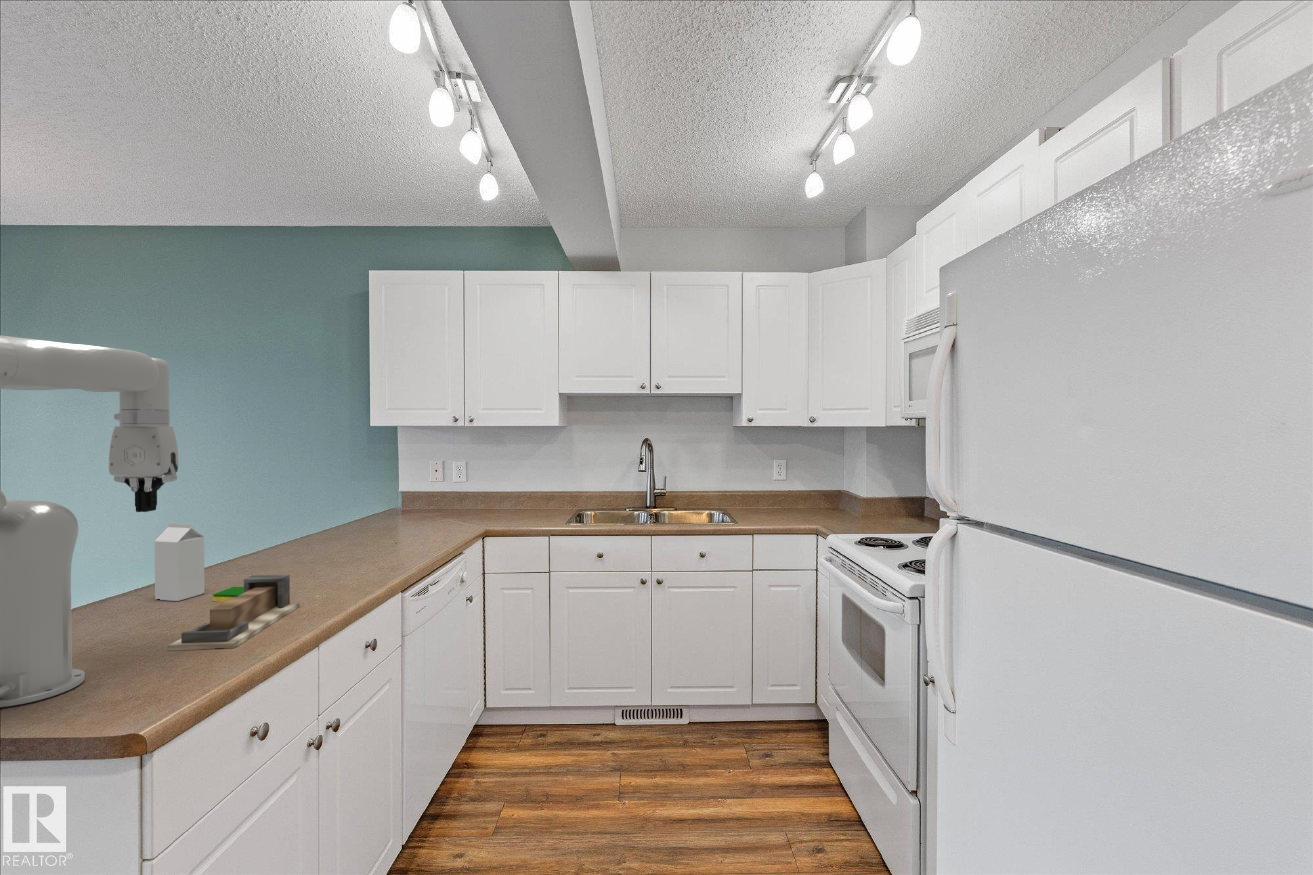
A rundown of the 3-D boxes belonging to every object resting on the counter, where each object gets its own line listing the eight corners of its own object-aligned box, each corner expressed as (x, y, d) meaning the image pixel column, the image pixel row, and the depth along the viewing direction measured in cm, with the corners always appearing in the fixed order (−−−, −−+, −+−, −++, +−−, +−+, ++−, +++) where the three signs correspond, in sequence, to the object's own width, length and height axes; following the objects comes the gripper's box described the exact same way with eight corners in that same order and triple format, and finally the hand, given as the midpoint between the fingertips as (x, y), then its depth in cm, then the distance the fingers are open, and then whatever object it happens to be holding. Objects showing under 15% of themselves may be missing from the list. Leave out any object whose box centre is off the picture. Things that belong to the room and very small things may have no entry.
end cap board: (233, 648, 116) (233, 607, 116) (167, 650, 115) (167, 609, 114) (299, 606, 143) (299, 573, 143) (246, 607, 141) (246, 574, 141)
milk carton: (177, 601, 146) (177, 526, 145) (154, 600, 147) (153, 525, 147) (204, 593, 153) (204, 521, 152) (182, 592, 154) (182, 520, 154)
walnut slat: (230, 632, 122) (230, 609, 122) (209, 633, 121) (209, 609, 121) (276, 606, 140) (275, 585, 139) (258, 606, 139) (257, 585, 139)
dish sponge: (265, 604, 145) (265, 595, 145) (211, 603, 146) (211, 594, 146) (284, 596, 153) (284, 587, 152) (233, 595, 153) (233, 586, 153)
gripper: (87, 418, 112) (88, 514, 112) (172, 419, 114) (173, 513, 114) (118, 419, 119) (119, 508, 120) (198, 419, 121) (199, 508, 121)
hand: (146, 510), depth 117 cm, fingers closed
